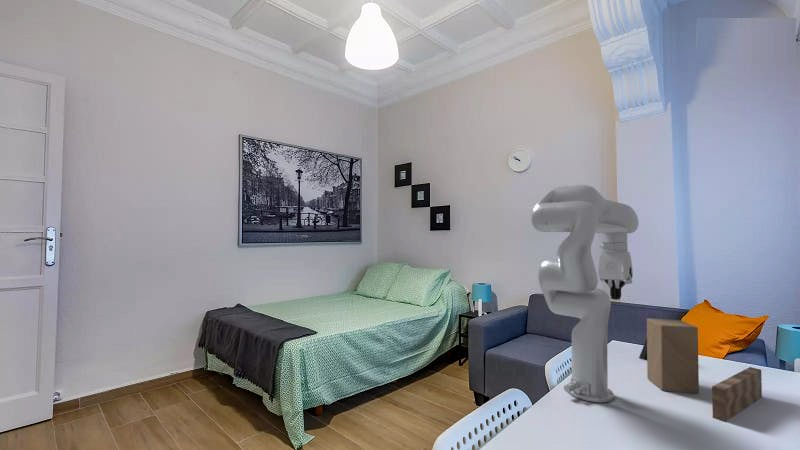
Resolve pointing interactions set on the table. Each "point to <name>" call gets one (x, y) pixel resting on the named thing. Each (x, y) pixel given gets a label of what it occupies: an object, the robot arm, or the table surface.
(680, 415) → the table surface
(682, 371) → the wooden block
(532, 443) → the table surface
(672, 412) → the table surface
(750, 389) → the walnut board
